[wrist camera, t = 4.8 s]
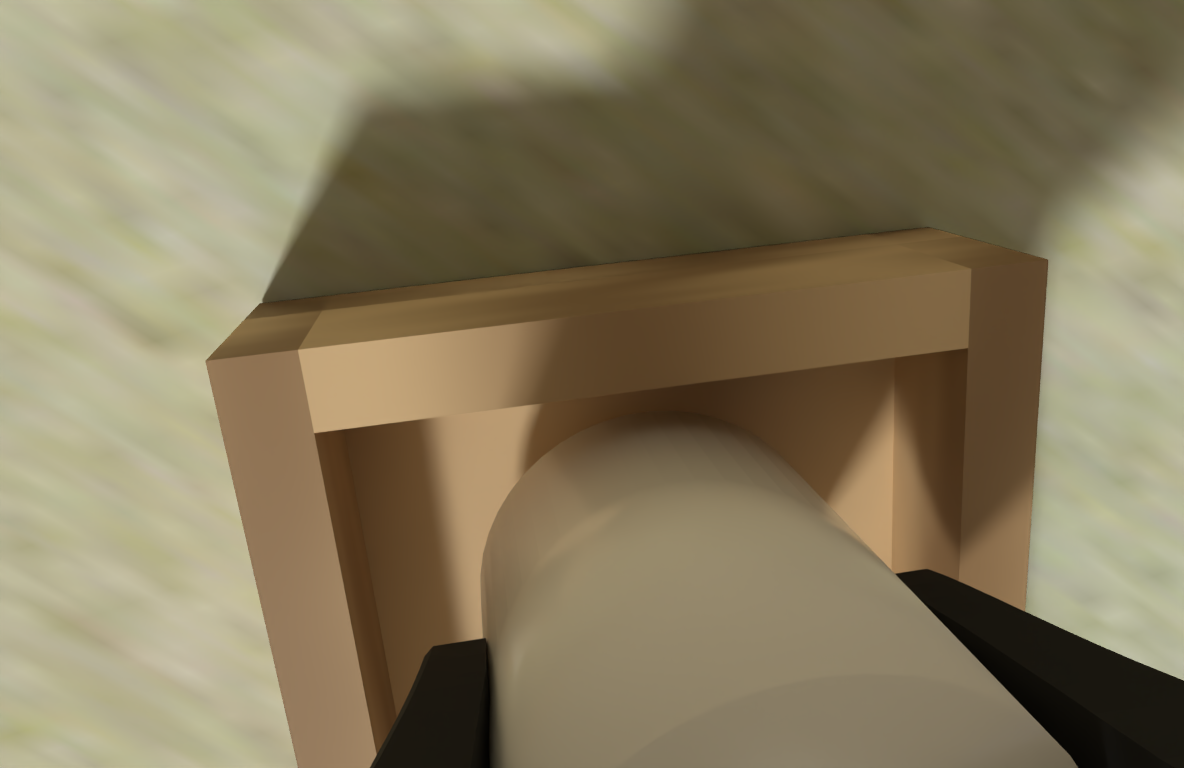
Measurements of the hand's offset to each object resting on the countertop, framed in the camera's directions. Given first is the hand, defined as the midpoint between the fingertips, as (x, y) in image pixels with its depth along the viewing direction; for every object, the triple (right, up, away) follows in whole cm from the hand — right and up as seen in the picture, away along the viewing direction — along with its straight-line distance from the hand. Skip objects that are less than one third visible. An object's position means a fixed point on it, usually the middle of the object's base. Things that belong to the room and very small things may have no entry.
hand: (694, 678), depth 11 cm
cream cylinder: (0, +1, +2) cm, 2 cm away
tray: (0, -2, +5) cm, 6 cm away
